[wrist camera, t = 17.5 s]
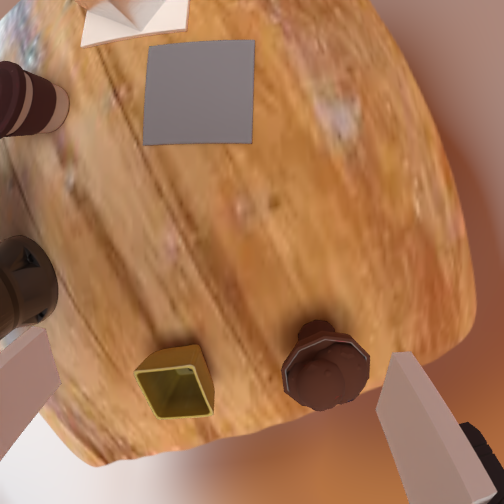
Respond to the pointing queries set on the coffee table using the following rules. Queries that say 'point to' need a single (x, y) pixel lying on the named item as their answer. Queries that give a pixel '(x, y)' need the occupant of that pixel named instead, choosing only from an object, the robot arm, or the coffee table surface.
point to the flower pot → (177, 383)
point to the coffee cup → (29, 102)
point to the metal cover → (124, 10)
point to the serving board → (107, 31)
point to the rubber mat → (199, 93)
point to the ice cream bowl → (325, 367)
